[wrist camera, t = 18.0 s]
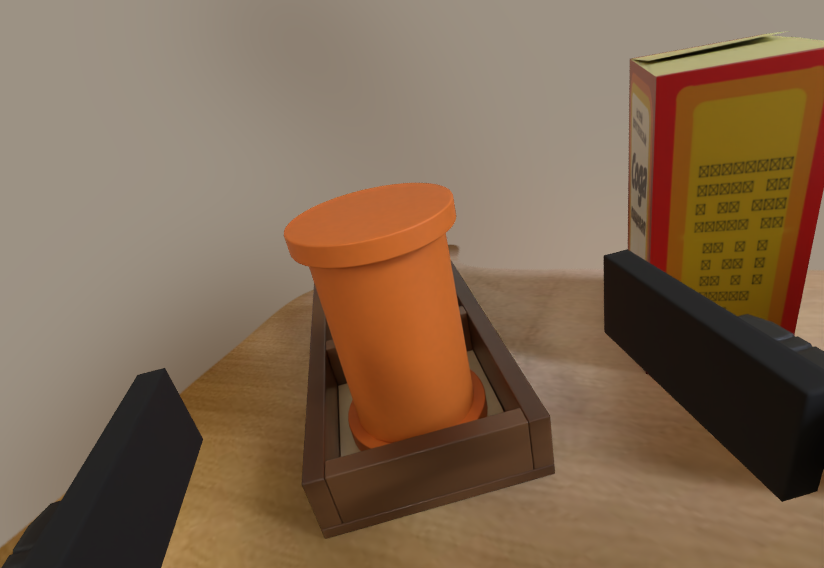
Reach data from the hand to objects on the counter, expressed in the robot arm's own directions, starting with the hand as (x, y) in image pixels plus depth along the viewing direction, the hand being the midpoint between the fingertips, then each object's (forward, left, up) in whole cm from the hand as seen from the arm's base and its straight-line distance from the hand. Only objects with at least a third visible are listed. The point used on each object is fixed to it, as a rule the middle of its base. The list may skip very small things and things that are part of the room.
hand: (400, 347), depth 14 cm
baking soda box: (+18, +11, -11) cm, 24 cm away
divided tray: (0, +14, -11) cm, 17 cm away
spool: (0, +9, -10) cm, 13 cm away
